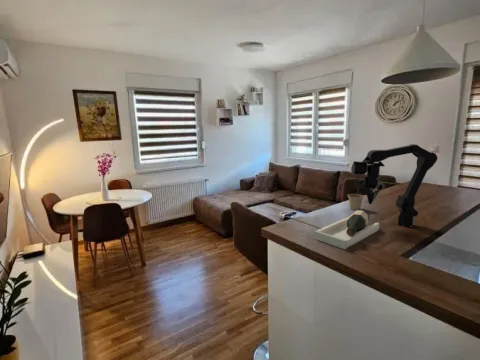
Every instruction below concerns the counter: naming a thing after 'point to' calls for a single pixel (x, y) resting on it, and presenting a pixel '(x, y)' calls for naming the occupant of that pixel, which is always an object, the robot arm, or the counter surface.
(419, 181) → the robot arm
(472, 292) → the counter surface
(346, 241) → the tray
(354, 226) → the wine bottle
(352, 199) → the flower pot
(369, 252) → the counter surface
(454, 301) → the counter surface
